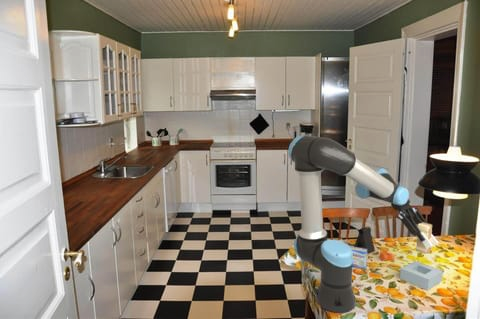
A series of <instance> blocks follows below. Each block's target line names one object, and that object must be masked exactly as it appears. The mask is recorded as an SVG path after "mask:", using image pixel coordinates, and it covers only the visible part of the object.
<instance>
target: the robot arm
mask: <svg viewBox="0 0 480 319" xmlns="http://www.w3.org/2000/svg"><path fill="white" fill-rule="evenodd" d="M287 153H288V157H289V159H290V160H291V161H292V162H293V163H294V171H295V172H296V173H298V177H299V178H298V179H299V180H298V181H299V197H300V198H299V200H300V217H301V229H300V230H299V231H298V234H296V238H295V239H294V242H293V249H294V252H295V254H296V255H297V257H299V258H300V259H301V260H302V261H304V262H306V263H308V264H310V266H312V267H314V268H316V269H317V270H319V271H320V282H319V285H318V288H317V290H316V293H315V301H316V304H317V305H318V306H319V307H320V308H322V309H324V310H326V311H328V312H332V313H336V314H337V313H342V314H344V313H349V312H351V311H353V310H354V309H355V308H356V304H357V302H356V300H357V298H356V295H355V292H354V289H353V286H352V285H353V284H352V283H353V281H352V280H353V267H352V266H353V257H352V250H351V248H350V246H349V245H348V243H346V242H344V241H341V240H336V239H328V232H327V230H326V229H324V224H323V223H324V221H323V220H324V219H323V200H322V199H323V198H322V197H323V194H322V174H321V173H322V172H323V171H324V170H327V171H330V172H333V173H336V174H337V175H339V176H345V177H347V178H349V179H350V180H352V181H354V182H355V183H356V184H355V187H354V190H355V194H356V196H357V197H359V198H360V199H363V200H364V199H368V198H373V199H376V200H380V201H384V202H386V203H389V204H390V206H391V207H392V208H393V210H394V211H396V212H398V213H399V214H398V215H396V217H397V218H398V219H399V221H401V223H403V225H404V226H405V228H406V229H407V230H408V231H409V233H410V234H411V235H412V236H413V237H417V236H418V238H419V239H420V241H421V242H422V243H423V244H424V246H425V247H426V248H427V249H428V248H430V247H431V248H432V247H433V246H436V245H437V244H439V241H438V240H437V239H436V237H435V236H434V235H433V234H432V235H431V242H430V241H429V240H428V238H427V237H426V236H425V235H424V233H423V232H422V233H421V231H420V230H419V228H418V224H420V223H422V222H424V223H428V221H427V220H426V219H425V217H424V216H423V215H422V213H421V212H420V209H419V208H418V207H416V206H415V207H413V206H412V205H410V203H411V200H410V199H409V197H410V193H409V190H408V189H407V188H405V187H403V186H401V185H400V186H399V185H398V184H397V183H396V181H395V180H394V179H393V177H392V176H391V174H390V172H388V171H387V170H386V169H385V168H379V169H376V170H374V169H373V168H371V167H369V166H368V165H366V164H365V163H364V162H362V161H360V160H359V159H357V156H356V154H355V153H354V152H352V151H351V150H349V149H348V148H347V147H345V146H344V145H342V144H341V143H339V142H337V141H335V140H333V139H331V138H329V137H323V136H322V137H321V136H316V135H311V134H309V135H307V134H305V135H304V134H302V135H298V136H296V137H295V138H293V140H292V141H291V142H290V144H289V147H288V152H287ZM352 309H353V310H352ZM350 310H351V311H350Z"/></svg>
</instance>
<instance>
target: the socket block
mask: <svg viewBox="0 0 480 319" xmlns="http://www.w3.org/2000/svg"><path fill="white" fill-rule="evenodd" d="M443 272H444V271H443V269H442V270H441V269H439V268H437V267H434V266H431V265H428V264H426V263H423V262H420V261H416V260H413V261H412V262H410V263H408V264H406V265H405V266H403V267H401V268H400V273H399V275H400V276H399V279H400V280H401V281H404V282H406V283H408V284H411V285H413V286H416V287H417V288H420V289H423V290H426V291H430V290H431V289H433V288H434V287H436V286H437V285H439V284H440V283H442V282H443Z"/></svg>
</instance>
